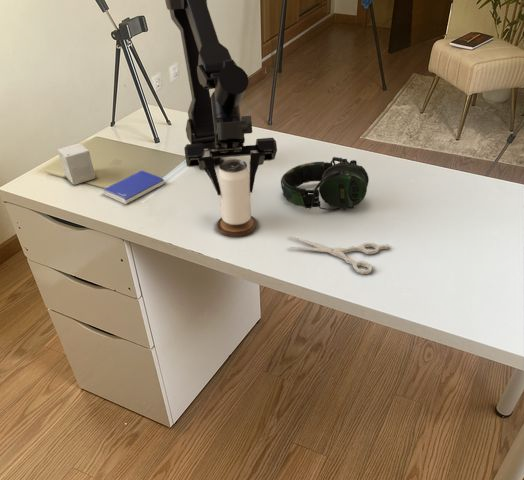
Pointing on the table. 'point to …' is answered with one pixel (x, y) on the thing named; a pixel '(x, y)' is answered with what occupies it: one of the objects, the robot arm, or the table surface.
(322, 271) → the table surface
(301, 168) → the headphones
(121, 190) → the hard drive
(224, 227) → the coaster
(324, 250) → the scissors
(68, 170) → the product box
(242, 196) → the can
